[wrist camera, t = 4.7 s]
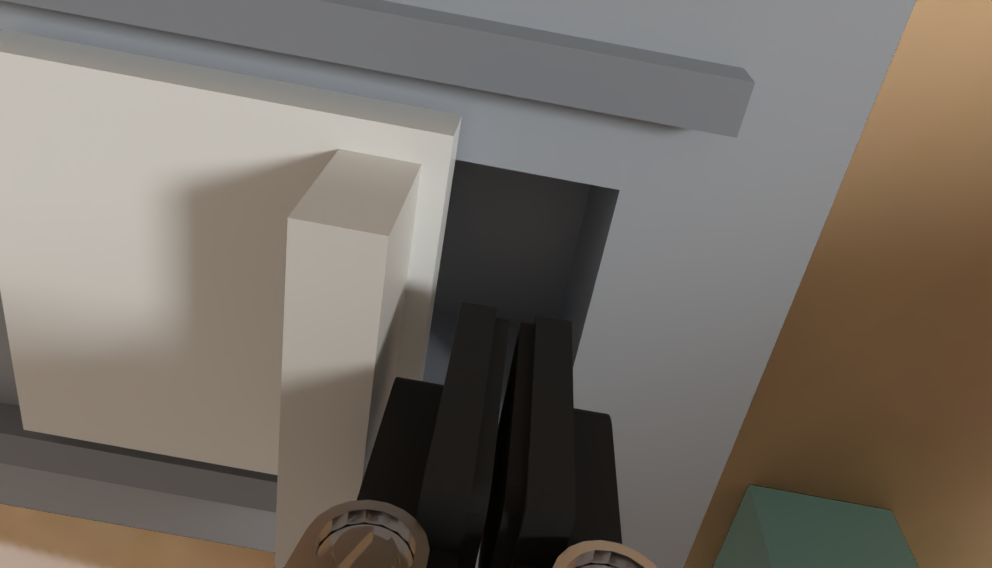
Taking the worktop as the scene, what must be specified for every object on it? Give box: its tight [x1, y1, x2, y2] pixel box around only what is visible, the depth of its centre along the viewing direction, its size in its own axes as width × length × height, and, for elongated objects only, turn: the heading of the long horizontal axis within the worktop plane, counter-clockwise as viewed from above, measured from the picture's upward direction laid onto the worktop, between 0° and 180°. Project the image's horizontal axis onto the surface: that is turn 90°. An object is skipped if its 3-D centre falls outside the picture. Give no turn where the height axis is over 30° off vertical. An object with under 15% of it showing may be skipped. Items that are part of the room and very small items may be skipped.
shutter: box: [0, 29, 462, 568], centre depth 12 cm, size 7×7×3 cm
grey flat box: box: [0, 0, 916, 568], centre depth 16 cm, size 18×14×6 cm
